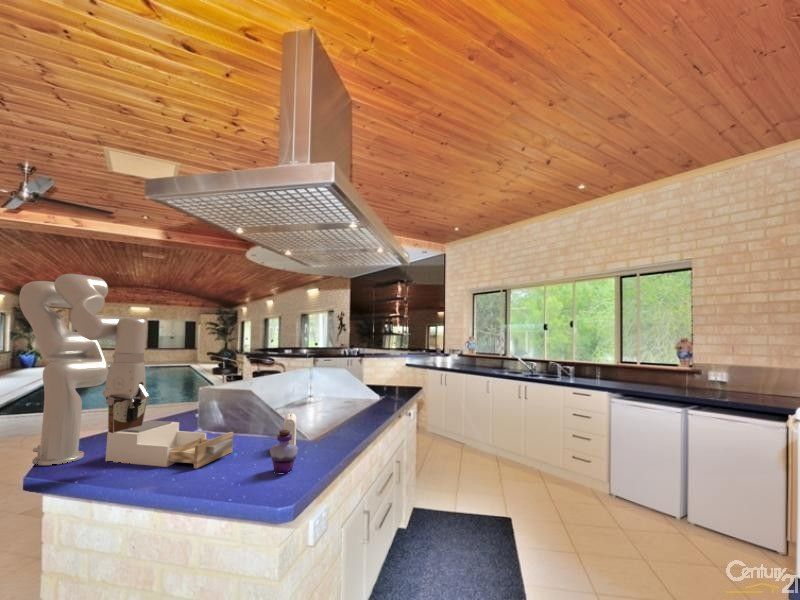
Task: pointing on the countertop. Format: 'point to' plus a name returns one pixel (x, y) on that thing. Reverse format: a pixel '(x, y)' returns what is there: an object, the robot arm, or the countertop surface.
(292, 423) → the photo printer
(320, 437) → the countertop surface
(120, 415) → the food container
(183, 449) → the sliding tray
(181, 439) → the dock
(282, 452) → the potion bottle
